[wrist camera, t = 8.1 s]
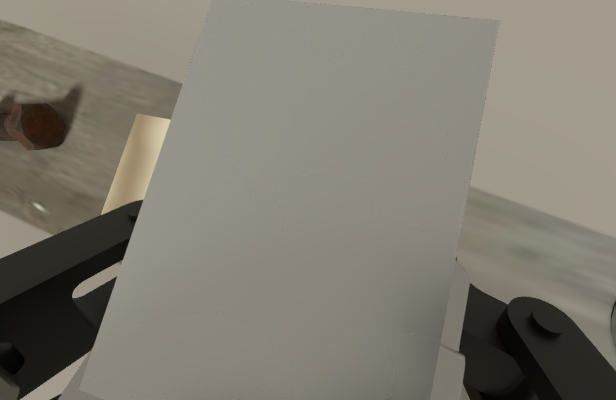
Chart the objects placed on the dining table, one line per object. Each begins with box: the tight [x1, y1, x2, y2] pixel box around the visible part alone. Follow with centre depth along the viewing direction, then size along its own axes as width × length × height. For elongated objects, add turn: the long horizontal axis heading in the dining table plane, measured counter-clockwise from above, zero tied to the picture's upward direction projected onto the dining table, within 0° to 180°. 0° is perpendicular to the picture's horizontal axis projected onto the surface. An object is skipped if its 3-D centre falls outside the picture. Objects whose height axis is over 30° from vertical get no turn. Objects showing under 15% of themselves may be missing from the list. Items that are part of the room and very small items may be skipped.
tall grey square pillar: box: [79, 0, 500, 400], centre depth 10 cm, size 4×5×14 cm
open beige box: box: [101, 113, 171, 215], centre depth 29 cm, size 12×10×8 cm
